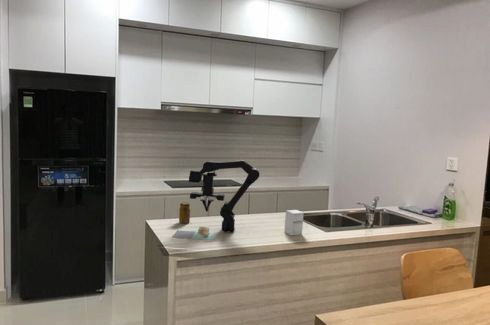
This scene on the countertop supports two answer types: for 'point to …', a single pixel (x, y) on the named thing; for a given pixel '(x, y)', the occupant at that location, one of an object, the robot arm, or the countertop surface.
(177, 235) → the runner mat
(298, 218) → the supplement box
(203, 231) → the beech block
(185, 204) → the condiment
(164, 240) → the countertop surface
